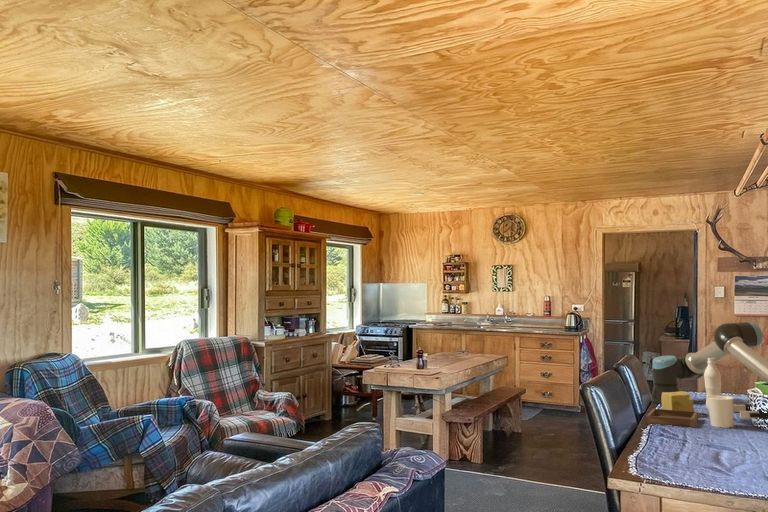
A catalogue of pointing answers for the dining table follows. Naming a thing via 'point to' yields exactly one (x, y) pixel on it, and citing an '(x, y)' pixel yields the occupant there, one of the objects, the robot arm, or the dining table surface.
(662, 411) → the walnut crate
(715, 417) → the cream cup
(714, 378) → the water bottle
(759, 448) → the dining table surface
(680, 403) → the cheese
